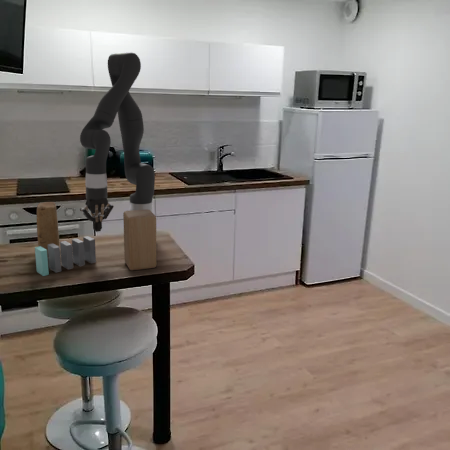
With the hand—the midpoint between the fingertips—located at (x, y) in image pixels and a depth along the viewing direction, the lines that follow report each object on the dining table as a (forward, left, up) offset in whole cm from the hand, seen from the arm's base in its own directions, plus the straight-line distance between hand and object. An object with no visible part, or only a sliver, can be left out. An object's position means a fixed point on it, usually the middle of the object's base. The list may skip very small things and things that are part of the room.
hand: (97, 230), depth 168 cm
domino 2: (+17, 0, -11) cm, 20 cm away
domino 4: (+8, 0, -11) cm, 14 cm away
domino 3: (+13, 0, -11) cm, 17 cm away
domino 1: (+22, 0, -11) cm, 24 cm away
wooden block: (-8, +15, -11) cm, 21 cm away
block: (+12, -16, -11) cm, 23 cm away
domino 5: (+4, 0, -11) cm, 12 cm away
